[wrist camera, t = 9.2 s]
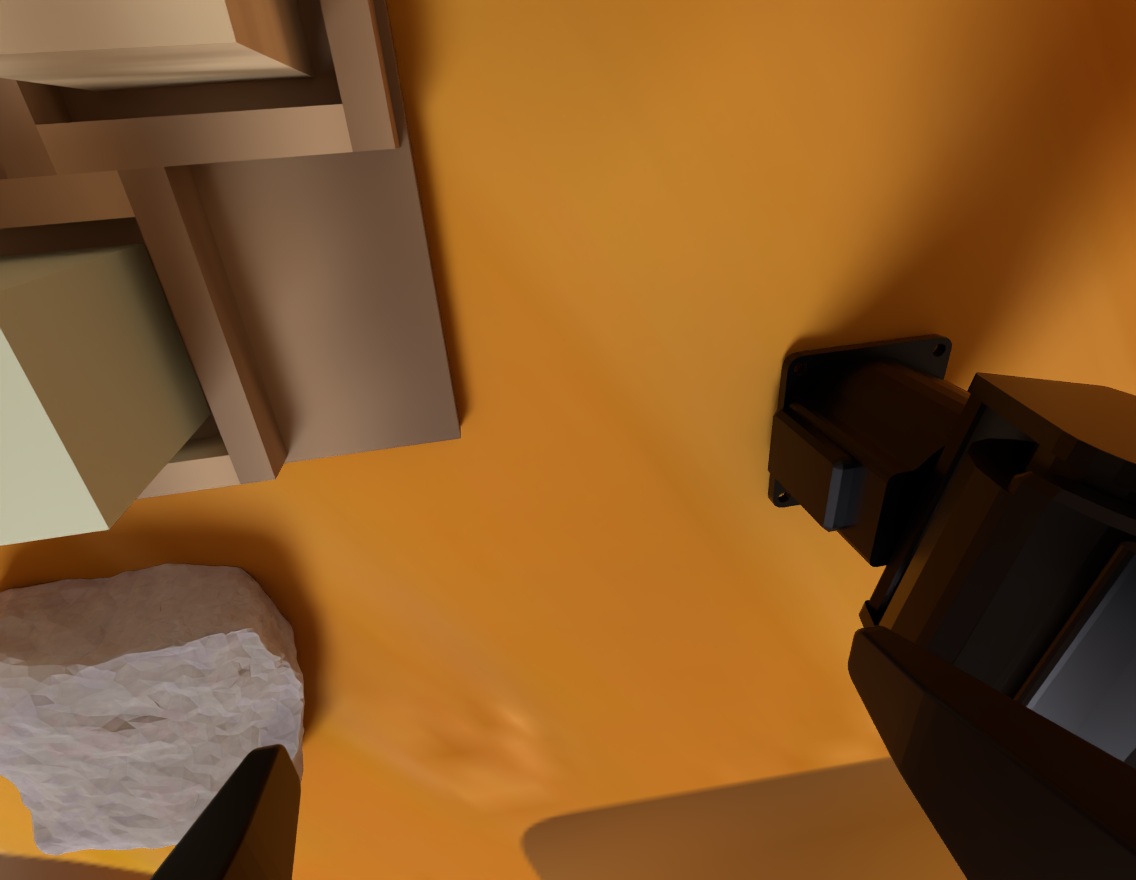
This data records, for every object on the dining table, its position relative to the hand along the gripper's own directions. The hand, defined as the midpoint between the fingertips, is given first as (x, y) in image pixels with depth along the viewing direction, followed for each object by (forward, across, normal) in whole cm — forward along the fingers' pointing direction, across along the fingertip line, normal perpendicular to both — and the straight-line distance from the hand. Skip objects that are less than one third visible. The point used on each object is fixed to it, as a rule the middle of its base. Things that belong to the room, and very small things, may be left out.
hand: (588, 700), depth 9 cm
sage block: (+12, +12, -4) cm, 17 cm away
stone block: (+13, +14, +10) cm, 22 cm away
